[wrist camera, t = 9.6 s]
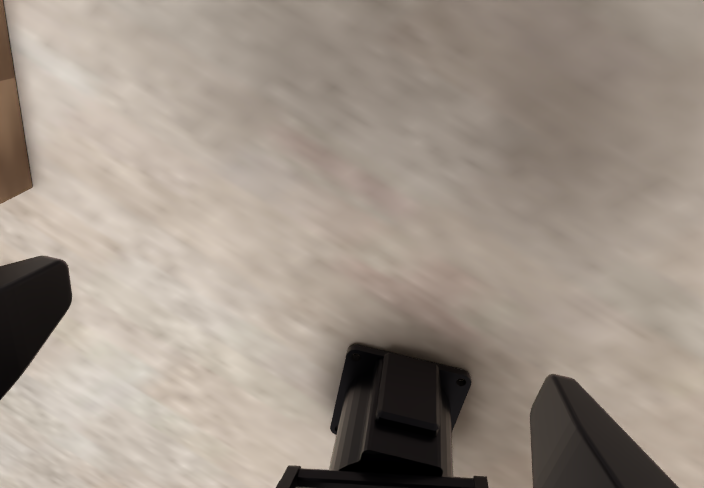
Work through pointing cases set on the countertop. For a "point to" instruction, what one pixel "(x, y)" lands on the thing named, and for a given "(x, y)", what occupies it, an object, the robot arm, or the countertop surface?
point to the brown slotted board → (10, 125)
